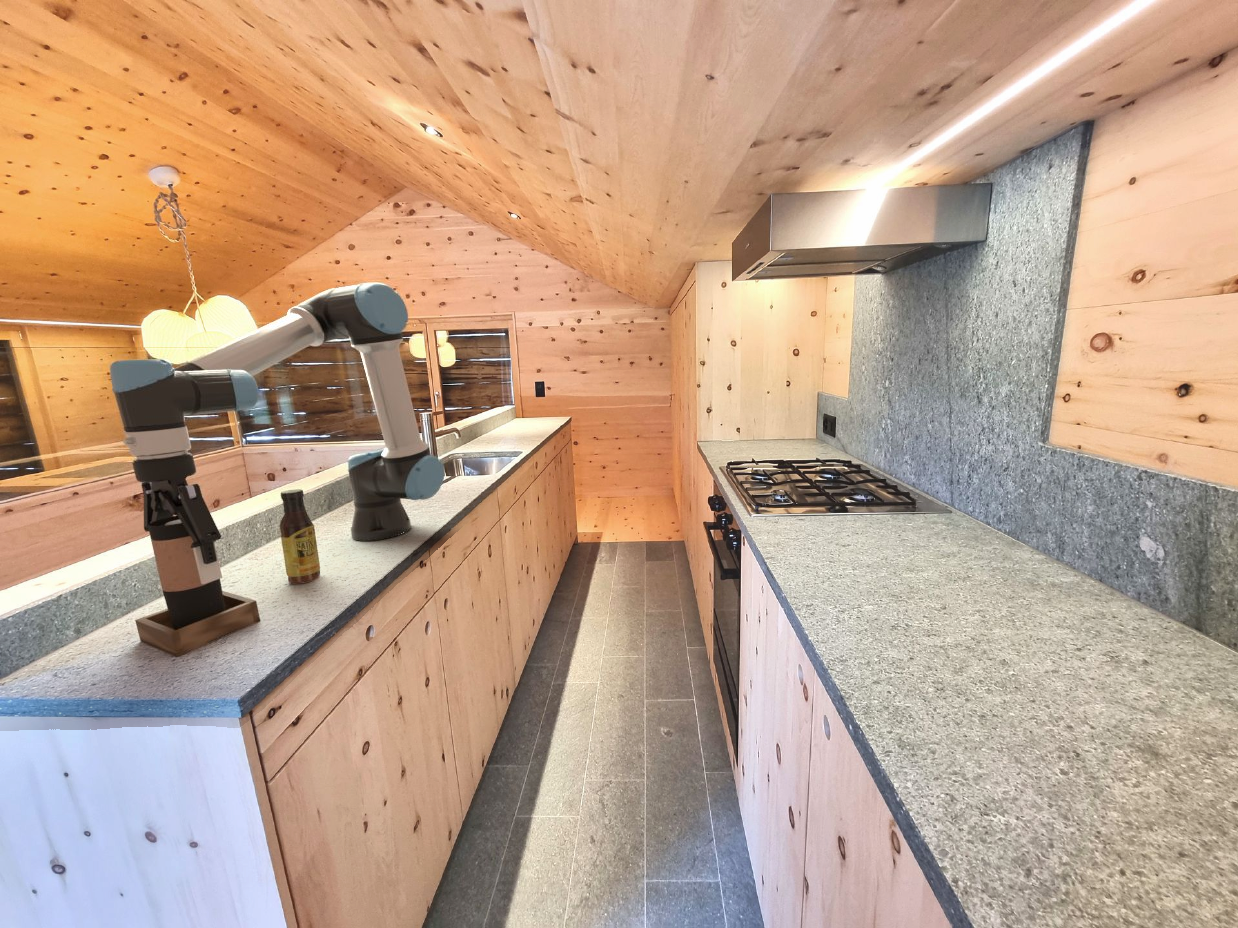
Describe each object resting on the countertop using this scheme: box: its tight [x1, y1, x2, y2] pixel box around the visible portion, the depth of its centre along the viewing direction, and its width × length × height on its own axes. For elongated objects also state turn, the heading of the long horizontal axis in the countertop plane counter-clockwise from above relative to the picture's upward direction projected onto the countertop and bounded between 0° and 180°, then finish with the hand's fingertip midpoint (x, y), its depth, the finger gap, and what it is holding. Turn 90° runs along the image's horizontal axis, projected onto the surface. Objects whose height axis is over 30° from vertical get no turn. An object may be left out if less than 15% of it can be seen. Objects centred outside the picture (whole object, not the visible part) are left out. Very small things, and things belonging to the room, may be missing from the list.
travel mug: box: [148, 515, 225, 630], centre depth 86 cm, size 8×8×20 cm
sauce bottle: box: [279, 488, 321, 585], centre depth 107 cm, size 7×6×20 cm
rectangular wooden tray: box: [134, 590, 261, 658], centre depth 88 cm, size 12×12×4 cm
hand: (191, 575), depth 87 cm, fingers open, 13 cm apart
